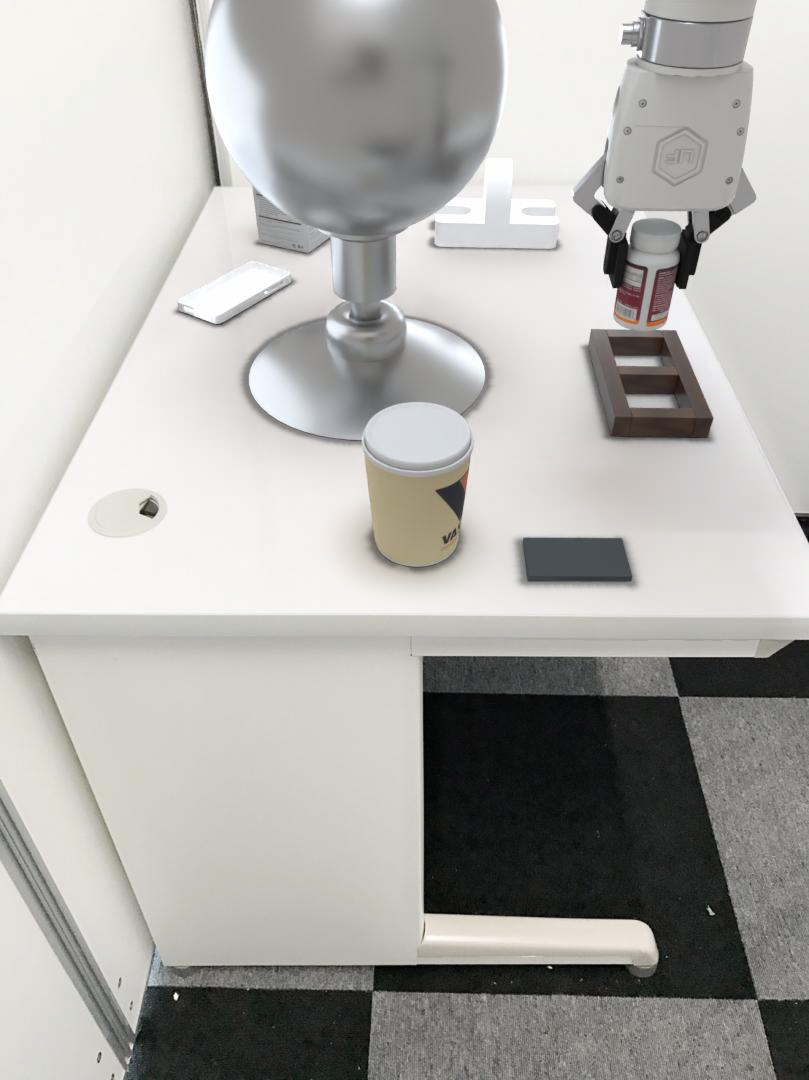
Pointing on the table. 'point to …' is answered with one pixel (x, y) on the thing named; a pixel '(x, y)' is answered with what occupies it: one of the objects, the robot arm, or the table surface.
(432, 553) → the coffee cup
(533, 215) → the white stand
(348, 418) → the silver goblet
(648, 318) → the pill bottle
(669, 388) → the rack
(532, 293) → the table surface
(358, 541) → the table surface
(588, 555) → the pad
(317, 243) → the white product box
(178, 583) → the table surface
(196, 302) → the phone case
